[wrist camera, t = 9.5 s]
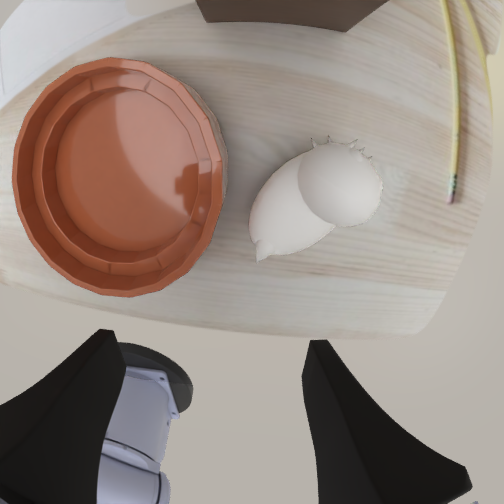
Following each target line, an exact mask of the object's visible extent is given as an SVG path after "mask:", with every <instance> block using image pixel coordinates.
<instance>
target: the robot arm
mask: <svg viewBox="0 0 504 504" xmlns="http://www.w3.org/2000/svg"><path fill="white" fill-rule="evenodd" d="M302 386H303V396H304V403H305V408H306V412H307V417H308V422H309V426H310V431H311V436H312V440H313V445H314V450H315V456H316V465H317V478H318V494H319V495H318V497H319V504H447V503H449V502H451V501H453V500H455V499H456V498H458V497H460V496H462V495H463V494H465V493H467V492H468V491H470V490H471V489H472V483H471V480H470V478H469V475H468V472H467V470H466V468H465V466H462V465H460V464H458V463H456V462H454V461H452V460H450V459H448V458H446V457H444V456H442V455H441V454H439V453H437V452H435V451H434V450H432V449H431V448H429V447H427V446H426V445H425V444H423V443H422V442H420V441H419V440H418V439H416V438H415V437H414V436H412V435H411V434H410V433H408V432H407V431H406V430H404V429H403V428H402V427H401V426H400V425H399V424H398V423H396V422H395V421H394V420H393V419H392V418H391V417H390V416H389V415H388V414H387V413H386V412H385V411H384V410H382V408H381V407H380V406H379V405H378V404H377V403H376V402H375V401H374V400H373V399H372V398H371V396H370V395H369V394H368V393H367V392H366V391H365V389H364V388H363V387H362V386H361V385H360V383H359V382H358V381H357V380H356V378H355V377H354V376H353V375H352V373H351V372H350V371H349V369H348V368H347V367H346V365H345V364H344V363H343V361H342V360H341V358H340V357H339V356H338V354H337V353H336V351H335V350H334V349H333V347H332V346H331V344H330V343H329V341H328V340H310V343H309V348H308V352H307V356H306V360H305V365H304V369H303V373H302ZM179 417H180V415H179V412H178V409H177V406H176V403H175V400H174V397H173V393H172V390H171V387H170V384H169V380H168V377H167V374H166V372H165V371H162V370H155V369H147V368H140V367H133V366H126V364H125V361H124V358H123V356H122V353H121V350H120V348H119V345H118V342H117V339H116V337H115V334H114V331H113V330H106V329H99V330H98V331H97V332H95V333H94V334H93V335H92V336H91V337H90V338H89V339H88V340H86V341H85V342H84V343H83V344H82V345H81V346H80V347H79V348H78V349H76V350H75V351H74V352H73V353H72V354H71V355H70V356H69V357H67V358H66V359H65V360H64V361H63V362H62V363H61V364H60V365H58V366H57V367H56V368H55V369H54V370H52V371H51V372H50V373H49V374H48V375H46V376H45V377H44V378H43V379H41V380H40V381H39V382H37V383H36V384H35V385H33V386H32V387H30V388H29V389H27V390H26V391H24V392H23V393H21V394H20V395H18V396H16V397H14V398H13V399H11V400H9V401H7V402H6V403H4V404H2V405H0V504H169V500H170V483H169V480H168V479H167V477H166V475H165V474H164V473H163V472H160V471H159V470H160V463H161V461H162V460H163V458H164V454H165V449H166V444H167V439H168V433H169V428H170V423H171V419H179ZM471 504H478V502H477V501H475V502H473V503H471Z"/></svg>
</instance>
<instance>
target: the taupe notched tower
mask: <svg viewBox="0 0 504 504" xmlns="http://www.w3.org/2000/svg"><path fill="white" fill-rule="evenodd" d="M387 1H389V0H196V2H197V4H198V6H199V8H200V10H201V12H202V15H203V17H204V19H205V21H206V22H228V21H249V22H273V23H286V24H296V25H304V26H312V27H319V28H325V29H331V30H336V31H342V32H347V31H348V30H349V29H351V28H352V27H353V26H355V25H356V24H357V23H358V22H360V21H361V20H362V19H364V18H365V17H366V16H368V15H369V14H370V13H372V12H373V11H375V10H376V9H377V8H379V7H380V6H382V5H383V4H384V3H386V2H387Z"/></svg>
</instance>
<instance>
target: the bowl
mask: <svg viewBox="0 0 504 504" xmlns="http://www.w3.org/2000/svg"><path fill="white" fill-rule="evenodd" d="M227 181H228V153H227V149H226V145H225V142H224V139H223V136H222V133H221V130H220V127H219V124H218V121H217V118H216V116H215V115H214V114H213V112H212V111H211V110H210V108H209V107H208V106H207V104H206V103H205V102H204V101H203V99H202V98H201V97H200V95H199V94H198V93H197V92H196V90H194V88H192V87H190V86H189V85H187V84H186V83H184V82H182V81H181V80H179V79H178V78H176V77H174V76H173V75H171V74H169V73H168V72H166V71H164V70H162V69H160V68H158V67H156V66H154V65H152V64H150V63H147V62H144V61H137V60H130V59H122V58H113V57H110V58H109V57H108V58H104V59H100V60H96V61H92V62H89V63H85V64H82V65H78V66H75V67H73V68H72V69H70V70H69V71H67V72H66V73H65V74H63V75H62V76H60V77H59V78H58V79H56V80H55V81H54V82H52V83H51V84H50V85H48V86H47V87H46V88H45V89H44V90H43V92H42V93H41V94H40V96H39V97H38V98H37V100H36V101H35V103H34V104H33V105H32V107H31V108H30V110H29V111H28V113H27V114H26V116H25V118H24V121H23V124H22V126H21V129H20V132H19V135H18V138H17V141H16V144H15V147H14V156H13V168H12V185H13V191H14V197H15V203H16V208H17V212H18V215H19V217H20V220H21V222H22V224H23V227H24V229H25V231H26V233H27V235H28V238H29V240H30V241H31V243H32V244H33V245H34V247H35V248H36V249H37V251H38V252H39V253H40V255H41V256H42V257H43V258H44V260H45V261H46V262H47V263H48V264H49V265H50V266H51V267H52V268H53V269H54V270H56V271H57V272H58V273H60V274H61V275H62V276H64V277H65V278H66V279H68V280H69V281H70V282H72V283H74V284H75V285H77V286H80V287H82V288H85V289H87V290H90V291H92V292H95V293H97V294H100V295H107V296H118V297H135V296H139V295H143V294H147V293H151V292H156V291H160V290H162V289H163V288H165V287H166V286H168V285H169V284H171V283H172V282H174V281H175V280H177V279H179V278H180V277H182V276H183V275H185V274H186V273H187V272H189V270H190V269H191V268H192V266H193V265H194V264H195V262H196V261H197V260H198V258H199V257H200V256H201V254H202V253H203V252H204V251H205V249H206V248H207V247H208V245H209V243H210V242H211V239H212V235H213V232H214V229H215V226H216V223H217V220H218V217H219V214H220V211H221V208H222V205H223V202H224V198H225V195H226V192H227Z"/></svg>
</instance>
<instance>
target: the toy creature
mask: <svg viewBox="0 0 504 504" xmlns="http://www.w3.org/2000/svg"><path fill="white" fill-rule="evenodd" d="M311 141H312V144H313V149H312V150H310V151H308V152H304V153H303V154H301V155H299V156H297V157H295V158H293V159H291V160H289V161H287V162H286V163H285V164H284V165H283V166H282V167H280V168H279V169H278V170H277V171H276V172H274V173H273V174H272V175H271V177H270V178H269V179H268V180H267V182H266V183H265V184H264V185H263V187H262V188H261V189H260V191H259V193H258V195H257V197H256V199H255V201H254V203H253V205H252V208H251V212H250V217H249V223H248V227H249V232H250V238H251V240H252V241H253V243H254V244H255V245H256V264H257V263H258V262H260V261H261V260H263V259H265V258H266V257H268V256H269V255H288V254H292V253H296V252H300V251H302V250H304V249H306V248H308V247H310V246H312V245H313V244H315V243H317V242H318V241H319V240H321V239H322V238H323V237H324V236H326V235H327V234H328V233H329V232H331V231H332V229H333V228H334V227H335V226H340V227H353V226H356V225H360V224H363V223H364V222H366V221H367V220H369V219H370V218H371V217H372V216H373V215H374V213H375V212H376V211H377V209H378V207H379V204H380V201H381V192H382V190H383V181H382V179H381V177H380V175H379V174H378V173H377V171H376V169H375V168H374V166H373V164H372V163H371V161H370V159H371V157H372V156H371V157H369V158H367V157H365V156H364V155H363V154H362V152H363V150H364V148H365V147H364V148H363V149H361V150H357V149H355V148H353V147H354V145H355V143H356V141H357V140H355V141H353V142H351V143H349V144H347V145H345V144H340V143H333V141H332V140H331V139H330V137H329V136H328V143H326V144H322V145H318V144H317V143H316V142H315V141H314V140H313V139H312V138H311Z"/></svg>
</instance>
